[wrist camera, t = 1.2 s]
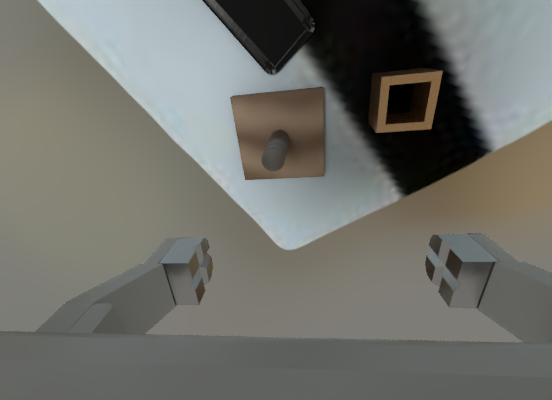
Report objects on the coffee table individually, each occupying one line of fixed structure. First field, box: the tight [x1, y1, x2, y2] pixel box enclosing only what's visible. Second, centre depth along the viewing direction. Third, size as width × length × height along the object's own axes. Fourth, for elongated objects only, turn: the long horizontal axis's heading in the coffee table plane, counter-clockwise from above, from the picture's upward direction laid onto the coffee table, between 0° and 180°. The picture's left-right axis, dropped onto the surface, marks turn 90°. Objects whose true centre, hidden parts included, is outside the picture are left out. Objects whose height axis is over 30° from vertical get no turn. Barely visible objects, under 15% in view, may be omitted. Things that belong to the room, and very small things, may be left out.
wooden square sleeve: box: [368, 68, 443, 133], centre depth 30 cm, size 6×6×5 cm
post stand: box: [230, 87, 324, 180], centre depth 33 cm, size 12×12×10 cm
